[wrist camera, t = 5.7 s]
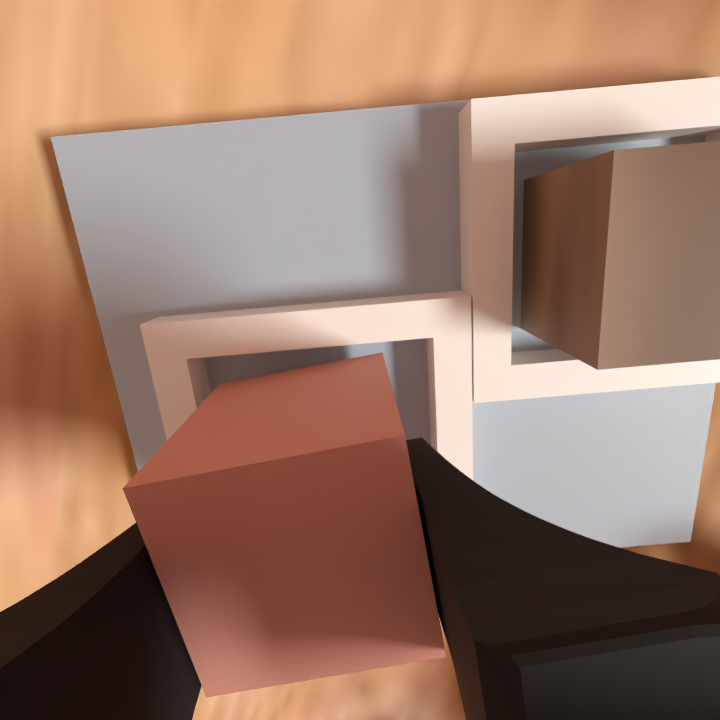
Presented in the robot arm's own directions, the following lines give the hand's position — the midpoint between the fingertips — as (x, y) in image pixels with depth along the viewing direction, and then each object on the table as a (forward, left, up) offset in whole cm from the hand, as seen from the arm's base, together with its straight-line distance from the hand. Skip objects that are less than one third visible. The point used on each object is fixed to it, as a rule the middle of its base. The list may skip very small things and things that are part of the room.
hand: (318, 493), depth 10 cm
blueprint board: (-3, -2, -4) cm, 5 cm away
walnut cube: (-8, -5, -3) cm, 10 cm away
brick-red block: (0, 0, -2) cm, 2 cm away
